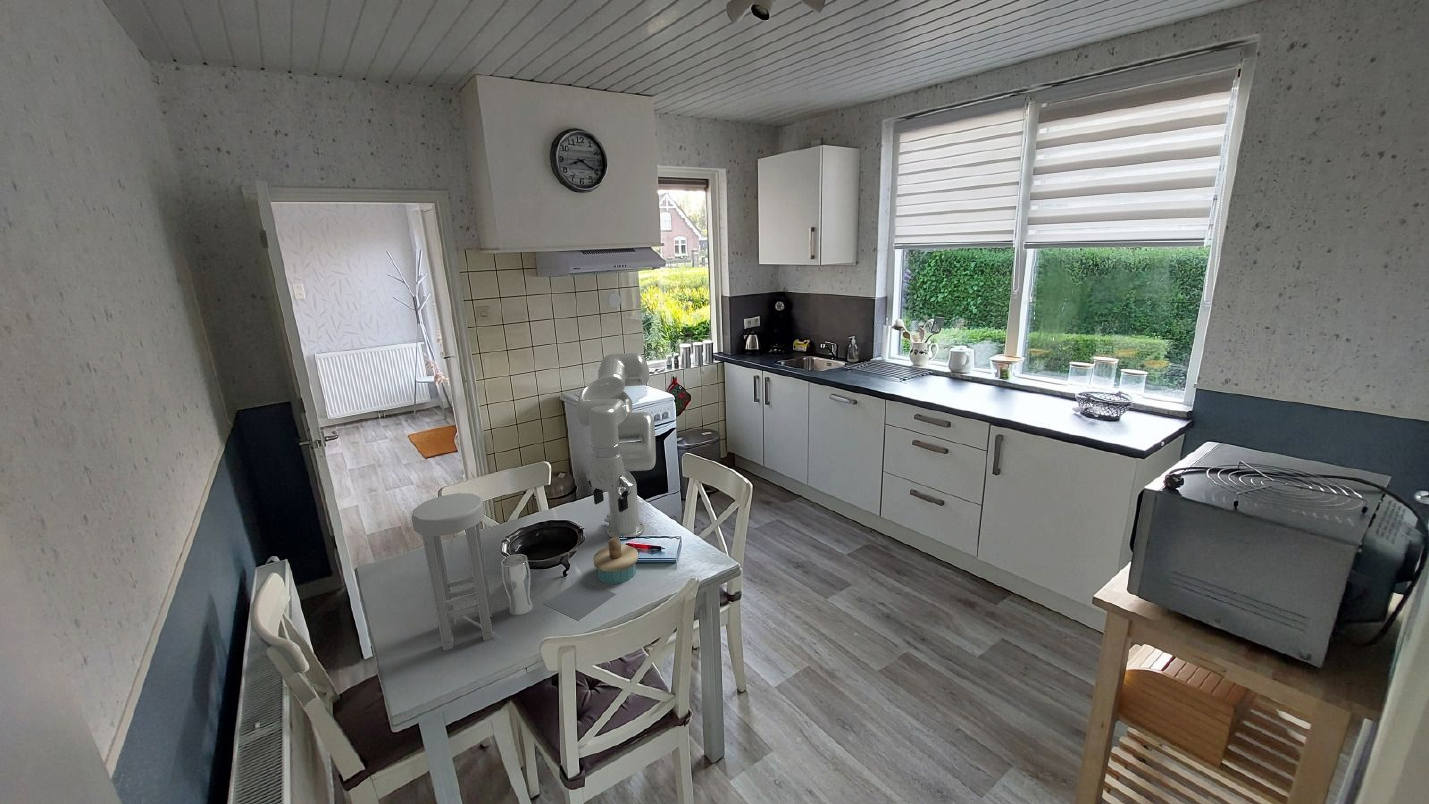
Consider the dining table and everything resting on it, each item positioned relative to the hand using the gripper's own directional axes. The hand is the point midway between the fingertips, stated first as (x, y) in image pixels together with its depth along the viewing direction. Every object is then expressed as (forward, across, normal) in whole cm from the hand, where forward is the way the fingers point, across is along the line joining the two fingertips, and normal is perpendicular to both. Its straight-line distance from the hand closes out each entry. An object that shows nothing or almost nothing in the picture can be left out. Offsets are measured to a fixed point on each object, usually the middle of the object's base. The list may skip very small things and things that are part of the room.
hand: (611, 506), depth 166 cm
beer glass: (+22, -10, -27) cm, 36 cm away
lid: (+17, 0, 0) cm, 17 cm away
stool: (+22, -14, -40) cm, 47 cm away
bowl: (+22, 0, 0) cm, 22 cm away
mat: (+22, +1, -15) cm, 27 cm away
